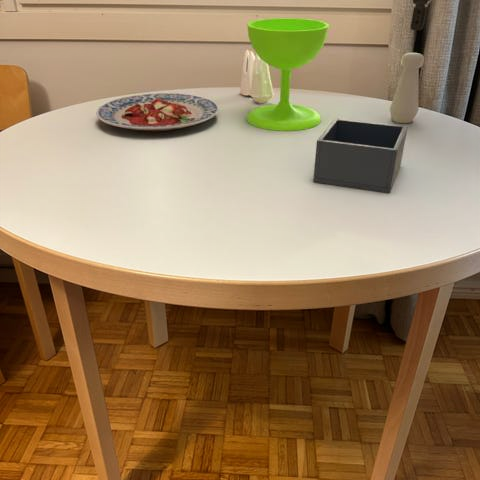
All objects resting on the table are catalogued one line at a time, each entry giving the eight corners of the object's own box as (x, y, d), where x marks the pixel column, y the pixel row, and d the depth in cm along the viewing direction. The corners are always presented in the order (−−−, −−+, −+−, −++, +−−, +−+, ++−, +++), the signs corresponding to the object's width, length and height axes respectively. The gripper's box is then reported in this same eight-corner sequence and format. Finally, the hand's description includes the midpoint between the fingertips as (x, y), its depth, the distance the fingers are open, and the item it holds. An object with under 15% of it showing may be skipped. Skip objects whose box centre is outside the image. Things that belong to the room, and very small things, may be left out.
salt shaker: (415, 117, 115) (427, 51, 107) (417, 125, 110) (430, 57, 103) (387, 115, 116) (398, 50, 108) (388, 123, 111) (400, 56, 103)
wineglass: (332, 115, 116) (342, 22, 105) (301, 135, 105) (307, 34, 94) (268, 104, 123) (271, 16, 112) (232, 122, 112) (231, 26, 101)
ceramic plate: (75, 118, 114) (72, 104, 113) (171, 97, 128) (170, 84, 126) (142, 148, 99) (140, 132, 97) (243, 120, 113) (243, 106, 111)
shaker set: (274, 104, 123) (276, 52, 116) (258, 106, 122) (259, 53, 115) (254, 92, 132) (255, 42, 125) (238, 93, 131) (238, 43, 124)
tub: (400, 165, 92) (407, 126, 88) (389, 193, 83) (397, 150, 79) (330, 156, 96) (334, 118, 92) (313, 182, 87) (316, 140, 82)
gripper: (458, -78, 86) (435, 33, 96) (462, -79, 97) (441, 22, 106) (411, -79, 88) (393, 31, 98) (420, -79, 99) (403, 20, 109)
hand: (418, 26), depth 102 cm, fingers open, 8 cm apart
